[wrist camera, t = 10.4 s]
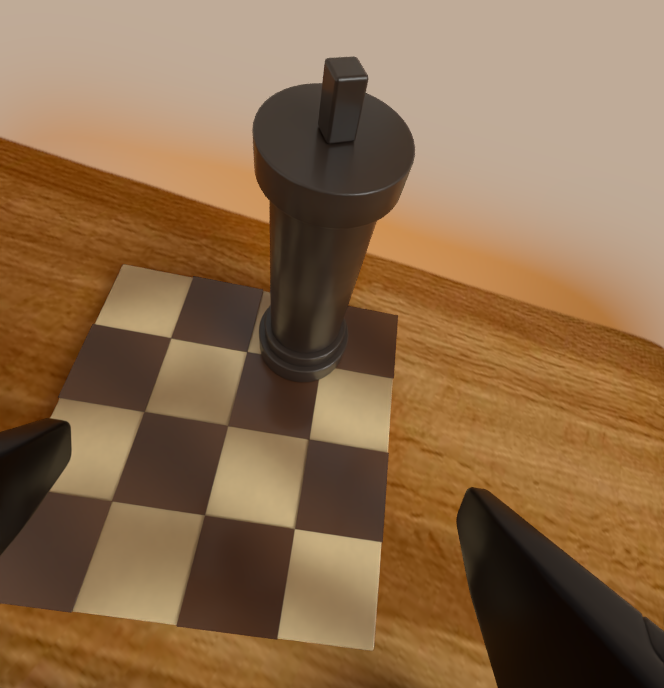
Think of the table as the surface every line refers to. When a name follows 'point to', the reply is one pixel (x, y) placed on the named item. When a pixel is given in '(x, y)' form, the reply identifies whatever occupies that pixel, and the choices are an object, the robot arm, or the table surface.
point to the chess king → (323, 208)
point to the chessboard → (214, 473)
